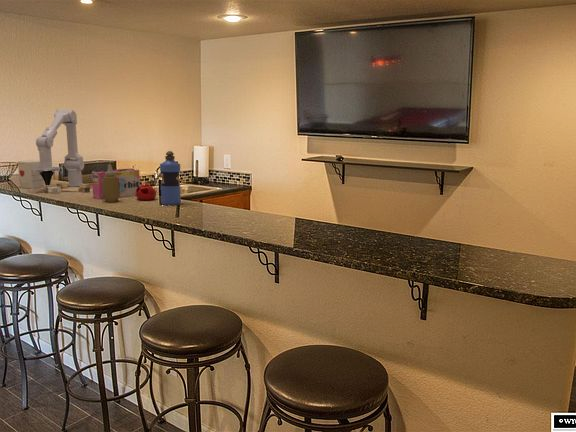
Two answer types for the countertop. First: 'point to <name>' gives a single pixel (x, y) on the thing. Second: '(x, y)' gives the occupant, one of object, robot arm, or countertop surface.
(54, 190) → the stop bracket
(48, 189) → the folding leg
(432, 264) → the countertop surface
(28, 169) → the supplement box
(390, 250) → the countertop surface
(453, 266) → the countertop surface
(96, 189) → the gum box
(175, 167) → the water bottle
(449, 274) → the countertop surface
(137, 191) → the pomegranate
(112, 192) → the squeeze bottle
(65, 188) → the stool seat
